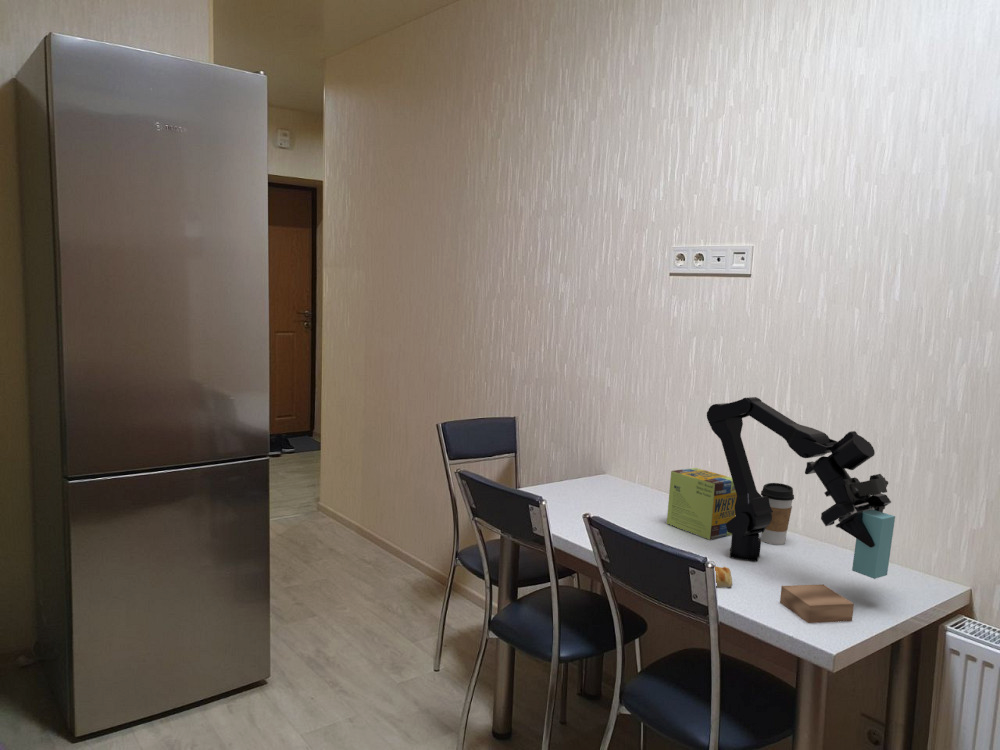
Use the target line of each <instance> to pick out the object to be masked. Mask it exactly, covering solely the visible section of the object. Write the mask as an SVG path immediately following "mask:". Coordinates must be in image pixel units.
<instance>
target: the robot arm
mask: <svg viewBox="0 0 1000 750" xmlns="http://www.w3.org/2000/svg"><path fill="white" fill-rule="evenodd" d="M747 417H750V418H752V419H753V420H755V421H757V422H758V423H760V424H761V425H763V426H764V427H767V429H769V430H770V431H772V432H774V433H775V434H777V435H778V436H779V437H781V438H782V439H784V440H785V441H786V443H787V446H788V447H789V448H790V449H791V450H792V451H793V452H794V453H795V454H797V456H799V457H800V458H803V459H810V458H811V459H812V458H818V457H819V458H818V459H816V460H815V461H807V462H806V468H805V471H804V474H805V475H811V474H815V475H816V476H817V477H818V479H819V480H820V482H821V484H822V485H823V486H824V488H825V489H826V491H825V492H824V496H825V497H831V498H832V500H833V501H834V503H835V504H833V505H832V506H830V507H828V508H826V509H825V510H824V511H822V512H821V516H820V520H821V522H822V523H823V524H824V526H825V527H829V526H833V525H835V521H837V520H838V522H839V523H837V524H836V525H835V528H839V529H840V530H843V531H844V532H845V533H847V534H848V535H851V536H852V537H854V538H855V539H856V538H857V539H858V540H860V541H861V542H863V543H864V544H866V545H867V546H869V547H870V548H872V547H874V546H875V544H874V541H873V539H872V537H871V536H870V534H869V532H868V530H867V528H866V527H865V525H864V523H863V521H862V519H863V511H868V510H876V511H879V512H882V513H884V510H885V509H886V507H887V506H889V505H890V504H891V503H892V500H890V498H889V496H888V495H887V494H885V493H888V489H887V487H888V485H889V481H888V480H886V478H885V477H884V476H883V475H882V474H881V473H878V474H873V475H870V476H869V480H865V481H860V480H859V478H857V477H856V476H854V477H851V476H850V474H849V473H848V471H847V470H849V471H853V470H855V469H857V468H858V467H860V466H862V465H863V464H864V463H866V462H867V461H868V460H870V459H871V458H873V457H874V456H875V453H876V452H875V448H874V447H873V445H872V443H871V442H869V441H868V440H867V439H865V438H864V437H863V436H861V435H858V432H857V431H855V430H853V431H852V430H851V431H848V433H846V434H845V435H844V436H843V437H842V438H840V439H839V440H834V439H832V438H830V437H829V436H828V434H826V433H825V432H824V431H821V430H818V429H815V428H813V427H810V426H806V425H802V424H800V423H797V422H796V421H794V420H792V419H790V418H789V417H788V416H786V415H784V414H783V413H781V412H779V411H778V410H777V409H775V408H773V407H771V406H770V405H768V404H767V403H765V402H764V401H762V400H761V399H760V398H758V397H757V396H752V397H751V396H749V397H743V398H741V399H739V400H735V401H732V402H727V403H726V402H724V403H715V404H714V403H713V404H712V405H711V406H709V408H708V410H707V412H706V419H707V421H708V424H709V426H710V428H711V430H712V432H713V433H714V434H715V435H716V436H717V438H718V439H719V440H720V441H721V444H722V449H723V452H724V455H725V459H726V462H727V466H728V469H729V472H730V477H731V478H732V480H733V484H734V487H735V491H736V494H737V498H736V502H735V507H734V508H735V517H734V518H733V519H731V520H730V521H729V522H727V523H726V527H727V532H729V533H732V535H731V541H730V548H729V558H730V559H736V560H744V561H750V562H758V559H759V558H760V557H761V545H762V539H761V538H760V533H761V534H762V532H764V531H765V528H766V527H767V526H768V525H769V524H770V522H771V520H772V514H771V513H773V511H772V509H771V507H770V503H769V499H768V497H767V496H765V497H762V495H761V493H759V491H758V490H757V486H756V484H755V480H754V477H753V473H752V469H751V466H750V463H749V460H748V457H747V453H746V448H745V446H744V443H743V439H742V436H741V434H742V431H743V430H742V429H743V425H744V423H743V419H744V418H747ZM830 453H831V454H830ZM827 454H829V455H828V456H826V455H827ZM846 469H847V470H846Z"/></svg>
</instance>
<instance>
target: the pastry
mask: <svg viewBox="0 0 1000 750" xmlns="http://www.w3.org/2000/svg"><path fill="white" fill-rule="evenodd" d="M714 567H715V571H716V583H717V587H716V588H720V587H730V588H731V587H732V586H733V578H732V571H731V569H730V567H726V566H723V567H720V566H714Z"/></svg>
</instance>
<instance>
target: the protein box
mask: <svg viewBox="0 0 1000 750" xmlns="http://www.w3.org/2000/svg"><path fill="white" fill-rule="evenodd" d="M669 481H670V482H669V492H668V493H669V494H668V502H667V503H668V505H667V517H666V525H668V524H670V525H669V526H671V525H673V526H675V527H674V528H676V527H677V529H679V528H680V529H679V530H681V529H683V530H682V531H684V530H686V531H685V532H687V531H689V532H691V533H690V534H692V533H694V534H693V535H695V534H697V535H699V536H698V537H700V536H702V537H701V538H703V537H704V538H703V539H705V538H707V539H706V540H708V539H709V541H712V540H715V539H720V538H724V537H729V536H732V533H729V532H727V527H726V523H727V522H729V521H730V520H731V519H733V518H734V517H735V516H736V515H735V508H734V507H735V502H736V498H737V494H736V491H735V487H734V484H733V480H732V477H731V476H727V475H723V474H720V473H717V472H713V471H708V470H705V469H701V468H697V467H691V468H684V469H677V470H676V469H675V470H671V471H670V480H669ZM673 526H672V527H673ZM689 532H688V533H689ZM697 535H696V536H697ZM728 535H729V536H728ZM711 539H712V540H711Z"/></svg>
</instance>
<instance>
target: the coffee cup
mask: <svg viewBox="0 0 1000 750" xmlns="http://www.w3.org/2000/svg"><path fill="white" fill-rule="evenodd" d="M762 487H763V488H762V490H761V492H760V495H761V496H762V497H765V496H767V497H768V499H769V503H770V507H771V509H772V511H773V513H771V514H772V520H771V522H770V524H769V525H768V526H767V527H766V528H765V531H764V532H761V538H760V539H761V542H763V543H765V544H766V543H767V544H770V545H774V546H781V545H785V543H786V538H787V532H788V528H789V523H790V519H791V513H792V509H793V506H792V505H793V501H794V500H795V495H794V488H793V486H790V485H788V484H785V483H778V482H768V483H766V484H764V485H763V486H762Z"/></svg>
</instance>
